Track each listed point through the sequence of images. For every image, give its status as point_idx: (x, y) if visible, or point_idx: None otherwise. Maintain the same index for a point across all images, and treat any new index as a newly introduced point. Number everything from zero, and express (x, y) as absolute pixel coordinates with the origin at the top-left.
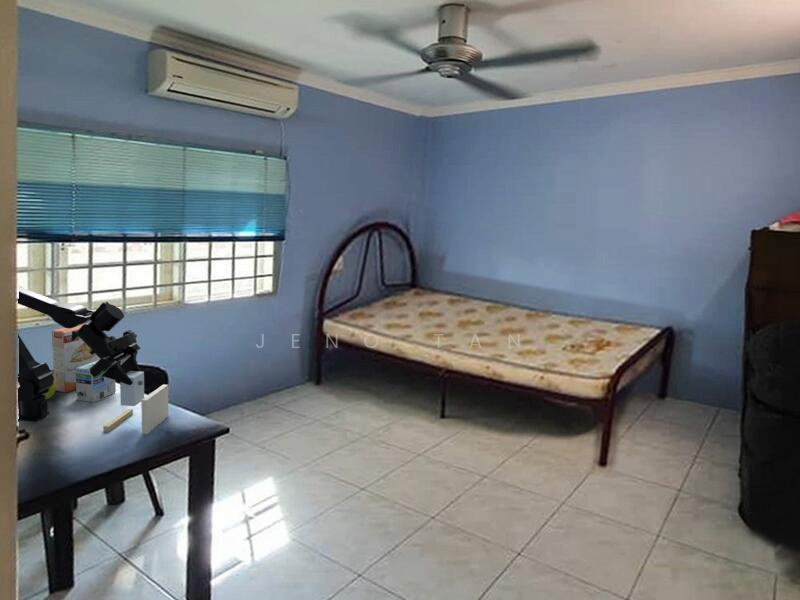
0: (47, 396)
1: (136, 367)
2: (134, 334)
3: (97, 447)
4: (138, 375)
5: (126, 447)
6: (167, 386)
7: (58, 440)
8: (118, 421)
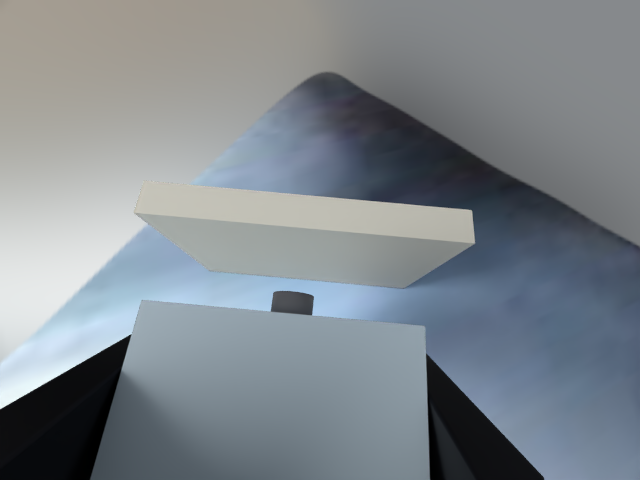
0: None
1: (43, 441)
2: None
3: (562, 411)
4: (300, 314)
5: (528, 297)
6: (159, 185)
7: None
8: None
